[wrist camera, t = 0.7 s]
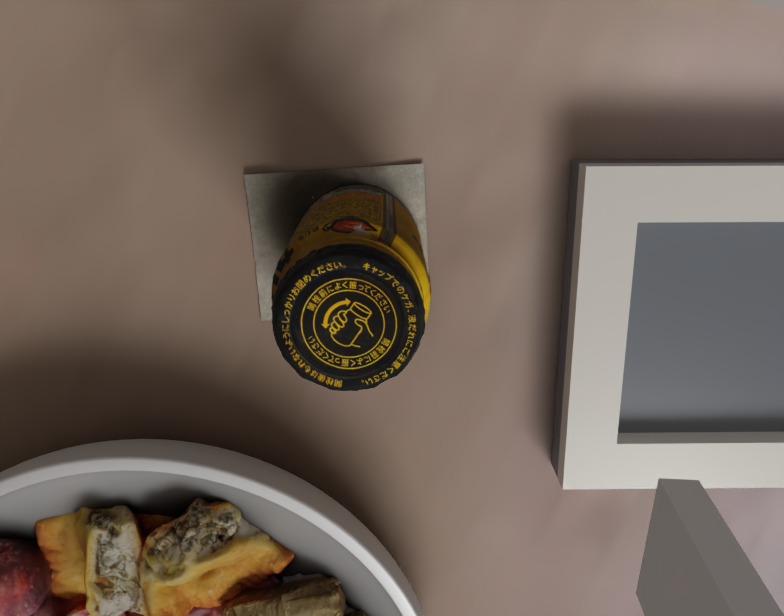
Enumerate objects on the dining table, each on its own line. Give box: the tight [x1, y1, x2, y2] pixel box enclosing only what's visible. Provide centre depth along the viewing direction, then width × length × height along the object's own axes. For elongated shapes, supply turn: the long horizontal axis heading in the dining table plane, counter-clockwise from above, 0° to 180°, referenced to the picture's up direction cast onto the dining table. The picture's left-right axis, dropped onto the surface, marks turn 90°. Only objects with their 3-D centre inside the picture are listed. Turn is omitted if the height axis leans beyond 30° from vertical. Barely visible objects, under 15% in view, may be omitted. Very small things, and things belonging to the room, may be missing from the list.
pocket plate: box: [551, 159, 784, 489], centre depth 37 cm, size 16×16×3 cm
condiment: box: [244, 164, 431, 391], centre depth 31 cm, size 7×8×12 cm
